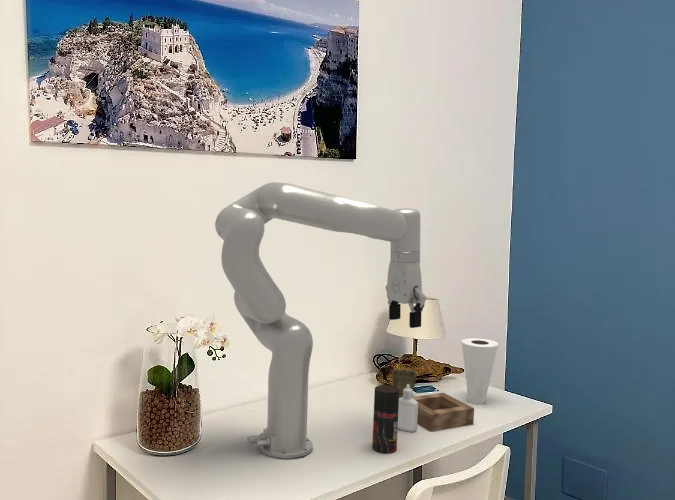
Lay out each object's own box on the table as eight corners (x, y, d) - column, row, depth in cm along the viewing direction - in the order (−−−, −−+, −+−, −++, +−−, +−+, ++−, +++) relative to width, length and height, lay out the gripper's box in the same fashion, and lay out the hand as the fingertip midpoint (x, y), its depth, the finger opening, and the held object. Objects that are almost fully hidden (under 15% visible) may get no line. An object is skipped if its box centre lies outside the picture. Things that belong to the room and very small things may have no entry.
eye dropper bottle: (405, 434, 173) (407, 388, 171) (393, 426, 177) (395, 382, 176) (419, 431, 175) (421, 386, 174) (406, 424, 180) (408, 380, 178)
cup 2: (467, 393, 208) (470, 336, 206) (500, 400, 202) (503, 342, 200) (452, 401, 199) (455, 342, 197) (485, 410, 193) (489, 349, 191)
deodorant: (393, 455, 159) (396, 394, 158) (369, 451, 161) (372, 390, 159) (398, 445, 165) (401, 386, 163) (375, 442, 166) (377, 383, 165)
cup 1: (416, 402, 198) (417, 375, 197) (391, 401, 198) (392, 374, 197) (413, 393, 205) (415, 368, 204) (389, 393, 205) (391, 367, 204)
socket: (430, 431, 175) (431, 414, 174) (401, 413, 187) (402, 398, 187) (473, 424, 181) (474, 408, 181) (442, 407, 194) (443, 392, 193)
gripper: (375, 254, 176) (375, 318, 178) (411, 262, 161) (410, 332, 163) (399, 252, 179) (399, 315, 182) (437, 260, 164) (436, 328, 166)
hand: (404, 323), depth 172 cm, fingers open, 9 cm apart
